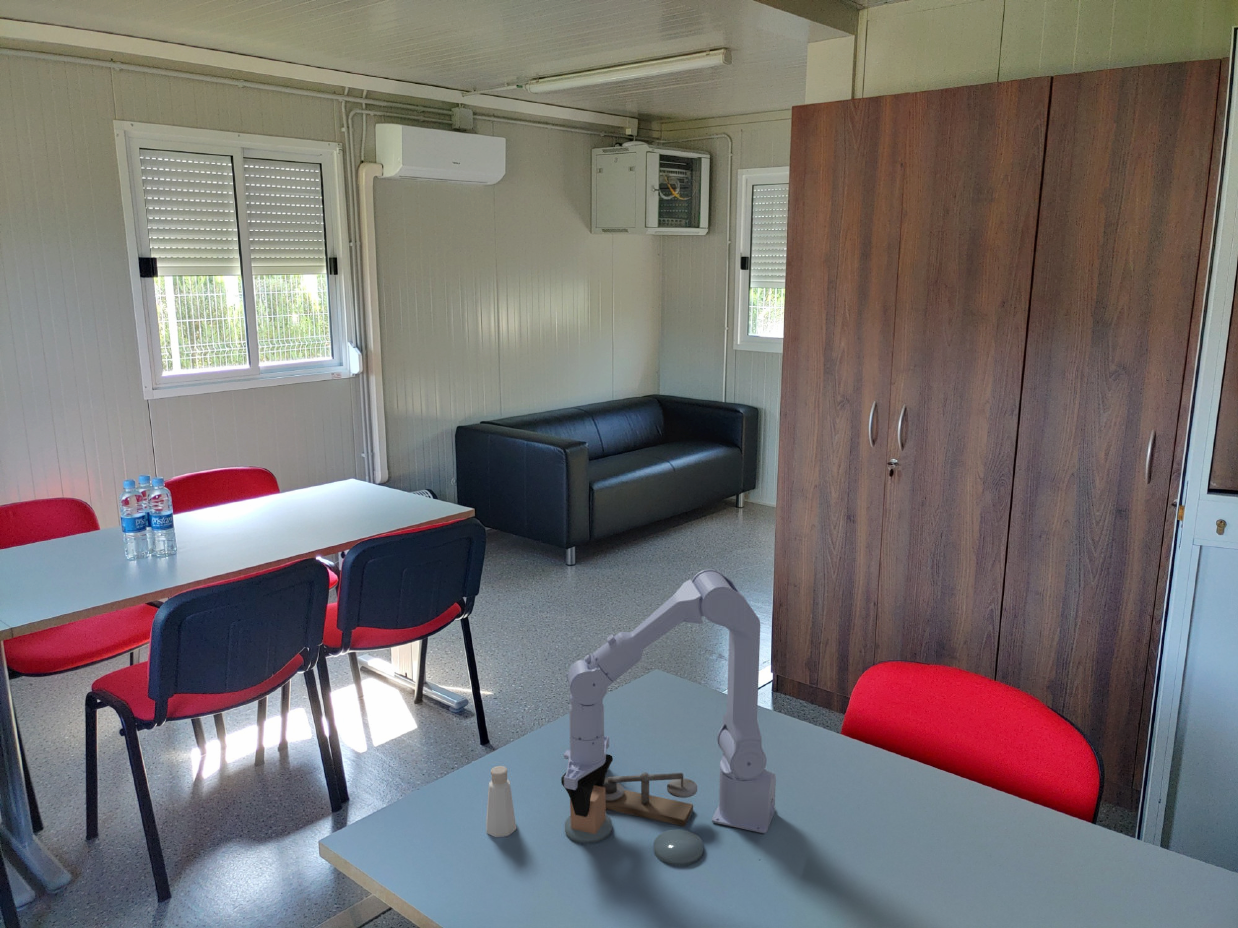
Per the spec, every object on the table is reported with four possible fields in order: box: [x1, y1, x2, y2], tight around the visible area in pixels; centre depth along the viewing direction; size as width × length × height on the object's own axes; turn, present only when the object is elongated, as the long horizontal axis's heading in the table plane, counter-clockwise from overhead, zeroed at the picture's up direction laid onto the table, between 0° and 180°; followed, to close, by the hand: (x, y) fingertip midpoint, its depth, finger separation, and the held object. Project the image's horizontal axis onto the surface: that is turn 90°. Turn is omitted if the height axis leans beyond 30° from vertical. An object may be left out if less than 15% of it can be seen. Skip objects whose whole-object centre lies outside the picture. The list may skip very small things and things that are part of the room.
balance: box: [603, 772, 698, 827], centre depth 162 cm, size 19×5×8 cm, turn 69°
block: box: [569, 785, 607, 834], centre depth 156 cm, size 4×4×6 cm
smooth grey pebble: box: [653, 829, 704, 866], centre depth 151 cm, size 8×8×1 cm
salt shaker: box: [485, 765, 517, 838], centre depth 156 cm, size 5×5×11 cm
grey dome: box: [564, 814, 613, 844], centre depth 157 cm, size 8×8×1 cm
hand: (588, 805), depth 156 cm, fingers open, 5 cm apart
